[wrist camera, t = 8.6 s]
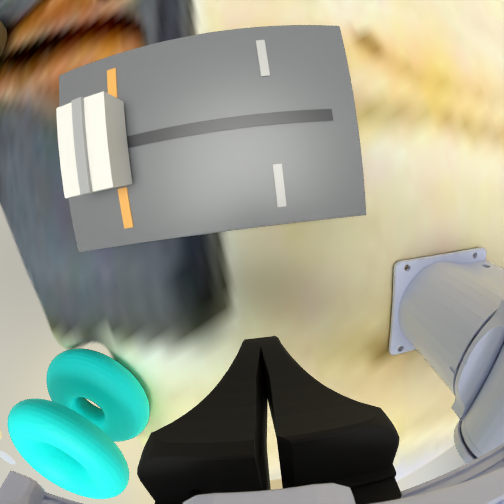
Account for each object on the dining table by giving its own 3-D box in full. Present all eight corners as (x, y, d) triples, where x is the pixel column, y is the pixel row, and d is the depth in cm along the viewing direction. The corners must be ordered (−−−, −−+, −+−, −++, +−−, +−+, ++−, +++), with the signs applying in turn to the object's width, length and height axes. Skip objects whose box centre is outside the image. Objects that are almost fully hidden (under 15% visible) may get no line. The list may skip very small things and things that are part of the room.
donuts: (143, 514, 15) (41, 488, 15) (165, 429, 25) (78, 420, 25) (86, 432, 13) (-20, 403, 13) (136, 342, 22) (41, 340, 22)
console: (329, 40, 17) (339, 25, 14) (352, 209, 20) (366, 215, 17) (76, 83, 17) (58, 75, 15) (95, 243, 20) (78, 252, 18)
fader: (123, 101, 15) (101, 89, 12) (132, 184, 16) (110, 187, 13) (80, 114, 15) (53, 107, 12) (88, 193, 16) (62, 198, 14)
